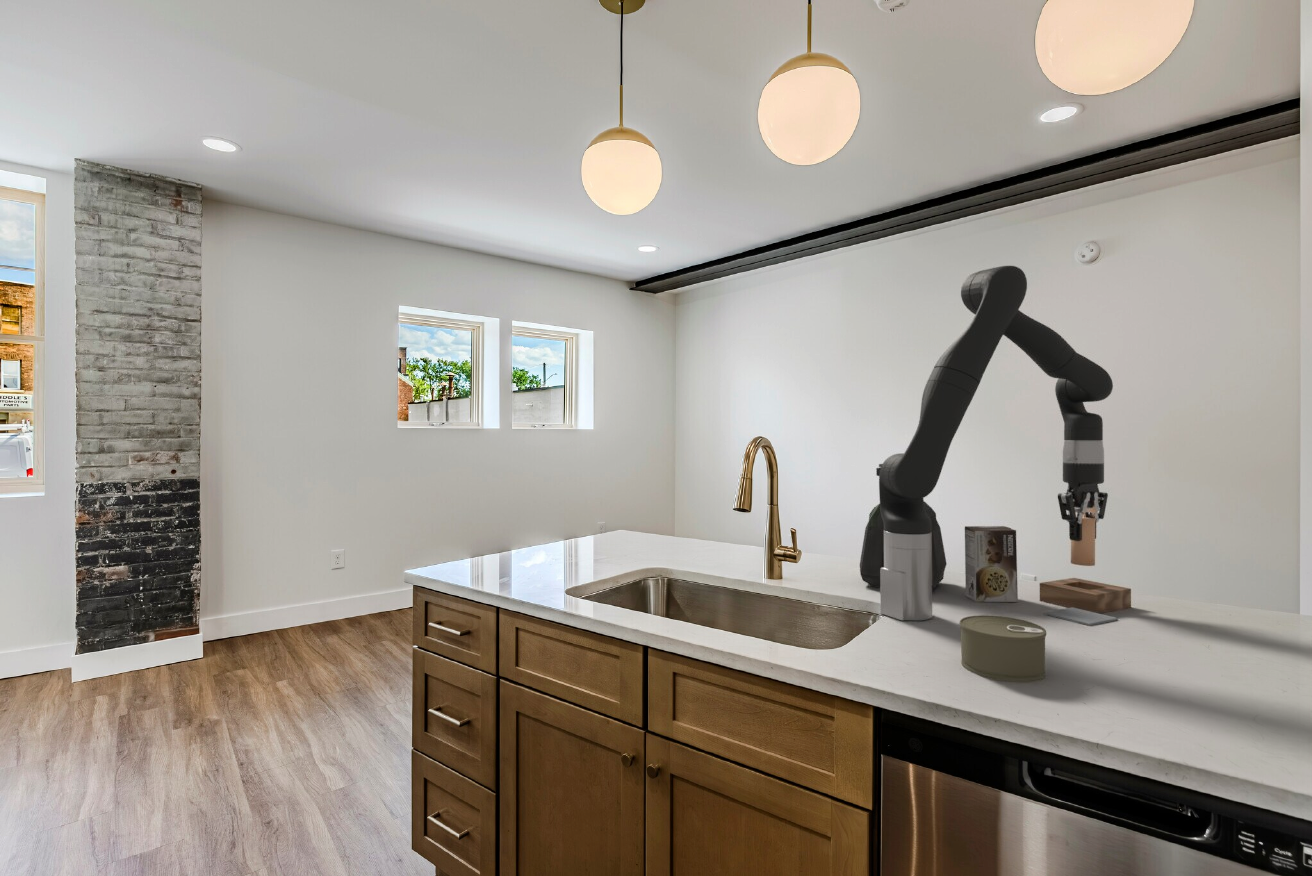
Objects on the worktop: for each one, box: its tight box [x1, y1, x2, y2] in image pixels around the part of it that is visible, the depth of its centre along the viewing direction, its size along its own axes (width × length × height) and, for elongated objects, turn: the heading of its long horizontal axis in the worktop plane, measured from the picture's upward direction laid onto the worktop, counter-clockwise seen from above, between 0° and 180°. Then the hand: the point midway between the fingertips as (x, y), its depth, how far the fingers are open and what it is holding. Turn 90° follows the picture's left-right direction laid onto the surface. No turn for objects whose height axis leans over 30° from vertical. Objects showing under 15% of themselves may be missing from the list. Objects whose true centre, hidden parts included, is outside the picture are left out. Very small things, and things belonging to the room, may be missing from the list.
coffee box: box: [964, 525, 1019, 603], centre depth 144 cm, size 9×6×16 cm
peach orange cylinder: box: [1070, 516, 1096, 567], centre depth 139 cm, size 4×4×10 cm
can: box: [959, 614, 1047, 683], centre depth 100 cm, size 12×12×7 cm
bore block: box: [1039, 577, 1132, 614], centre depth 139 cm, size 12×12×4 cm
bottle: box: [859, 463, 948, 590], centre depth 158 cm, size 18×16×30 cm
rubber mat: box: [1043, 607, 1118, 627], centre depth 129 cm, size 9×9×1 cm
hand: (1082, 539), depth 139 cm, fingers closed on peach orange cylinder, 4 cm apart
